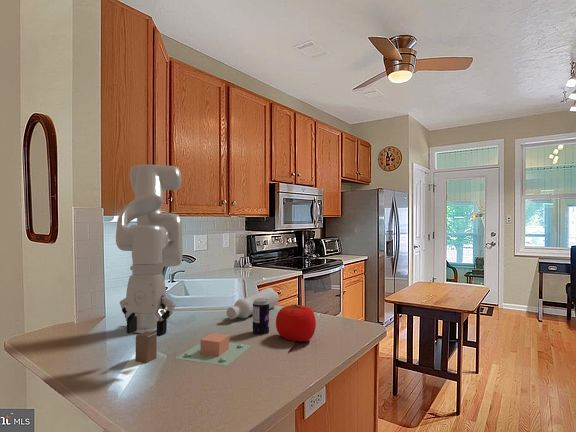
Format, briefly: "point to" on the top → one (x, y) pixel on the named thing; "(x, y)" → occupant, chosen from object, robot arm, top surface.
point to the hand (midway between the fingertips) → (146, 333)
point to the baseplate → (223, 359)
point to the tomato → (296, 323)
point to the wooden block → (146, 347)
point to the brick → (214, 344)
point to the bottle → (246, 305)
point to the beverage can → (261, 316)
